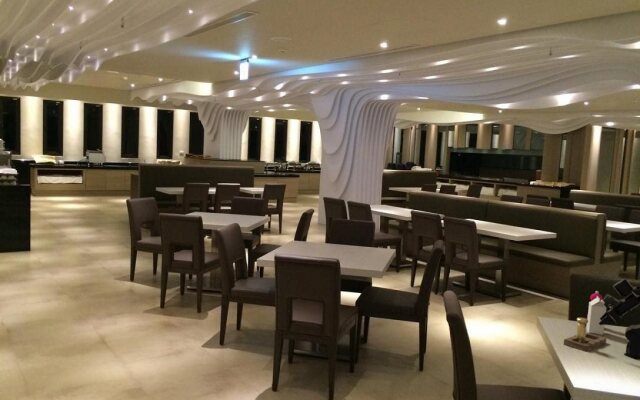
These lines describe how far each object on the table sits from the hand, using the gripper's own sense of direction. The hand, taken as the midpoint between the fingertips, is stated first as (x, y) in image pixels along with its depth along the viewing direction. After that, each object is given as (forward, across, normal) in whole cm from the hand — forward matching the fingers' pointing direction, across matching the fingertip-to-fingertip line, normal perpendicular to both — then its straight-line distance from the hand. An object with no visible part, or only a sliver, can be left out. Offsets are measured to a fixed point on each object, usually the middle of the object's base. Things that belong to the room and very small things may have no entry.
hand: (599, 321), depth 263 cm
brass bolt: (+15, +1, +4) cm, 15 cm away
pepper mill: (+12, -41, +7) cm, 44 cm away
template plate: (+14, -4, +6) cm, 15 cm away
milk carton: (+12, -29, +8) cm, 32 cm away
